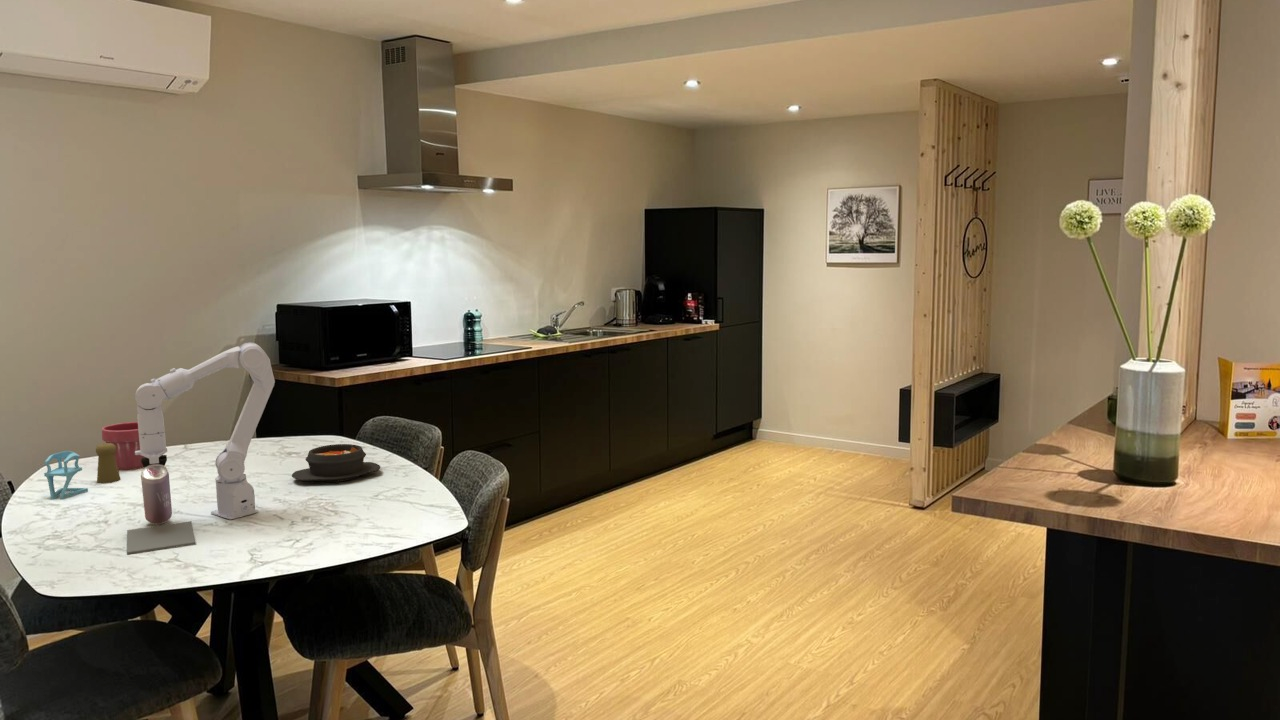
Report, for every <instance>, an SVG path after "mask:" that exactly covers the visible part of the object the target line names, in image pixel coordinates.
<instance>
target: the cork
mask: <svg viewBox="0 0 1280 720" xmlns="http://www.w3.org/2000/svg"><path fill="white" fill-rule="evenodd" d="M95 453H96V455H97V456H98V459H97V460H98V461H97V463H98V464H97V475H96V478H97V479H96V483H97V484H112V483H116V482H119V481H121V476H120V471H119V469H118V467H117V463H116V459H115V453H116V446H115V445H114V444H112V443H106V442H105V443H101V444H98V445H97V446H96V447H95Z"/></svg>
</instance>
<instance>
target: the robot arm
mask: <svg viewBox="0 0 1280 720" xmlns="http://www.w3.org/2000/svg"><path fill="white" fill-rule="evenodd" d="M240 365H241V366H242V367H243V368H244V370H245V371H247V372H248V374H249V376H250V378H251V380H252V381H253V384H252V386H251V388H250V390H249V393H248V395H247V398H246V401H245V402H244V404H243V407H242V409H241V412H240V415H239V417H238V418H237V419H238V420H237V421H236V424H235V426H234V429H233V432H232V434H231V435H230V438H229V440H228V441H227V443H226V445H225V447H224V449H223V450H222V451H221V452H220V453H219V454H218V455H217V456H216V458H215V467H216V468H217V474H218V475H217V476H216V478H215V490H216V491H215V492H216V503H217V509H216V510H212V511H210V514H211V515H215V516H218V517H221V518H225V519H227V520H234V519H239V518H242V517H245V516H249V515H254V514H256V513H259V512H260V510H259V509H257V508H256V499H255V489H254V487H253V486H252V484H251V483H249V482H248V480H247V475H246V473H245V469H246V467H245V462H246V461H245V460H246V458H247V456H248V450H249V446H250V444H251V441H252V439H253V437H254V434H255V432H256V429H257V427H258V426H259V425H258V424H259V422H260V420H261V418H262V415H263V413H264V411H265V408H266V405H267V403H268V400H269V398H270V396H271V394H272V391H273V388H274V387H275V383H276V380H275V376H274V373H273V368H272V364H271V359H270V357H269V356H268V355H267V353H266V351H265V350H264V349H263V348H262V347H261V346H260V345H259V344H257V343H256V342H251V341H250V342H245V343H242V344H241V345H240V346H239V345H238V346H235V347H232V348H229V349H227V350H224V351H222V352H220V353H219V354H217V355H214V356H213V357H210V358H209V359H207V360H204V361H203V362H201V363H199V364H197V365H196V366H193V367H191V368H190V369H185V368H182V367H179V368H177V369H176V368H175V367H173V368H170V370H169V373H166V374H164V375H162V376H160V377H158V378H152V379H150V382H149V383H148V382H146V383H143V384H141V385H140V386H139V387H138V388H137V389H136V391H135V395H134V396H135V397H134V400H135V402H136V404H137V407H136V412H137V415H136V416H137V422H138V431H139V443H140V450H139V451H135V455H142V456H144V457H147V458H142V459H141V463H142V465H143V466H144V467H143V469H144V468H145V467H147V466H149V465H153V464H160V465H163V466H165V467H166V463H167V461H168V457H167V454H166V453H167V452H168V448H167V442H166V433H165V432H166V429H165V420H164V417H165V416H164V412H163V411H162V410H163V409H162V403H163V401H168V400H171V399H173V398H174V397H176V396H179V395H182V394H183V393H185V392H187V391H189V390H191V389H193V387H194V385H195V382H196V381H199V380H200V379H203V378H206V377H207V376H209V375H213V374H214V373H217V372H218V371H221V370H224V369H227V368H229V369H240Z"/></svg>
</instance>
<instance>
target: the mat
mask: <svg viewBox="0 0 1280 720" xmlns="http://www.w3.org/2000/svg"><path fill="white" fill-rule="evenodd" d="M196 544H197V543H196V536H195V532H194V528H193V523H192V520H191V521H184V522H176V523H170V524H169V523H168V524H162V525H161V524H159V525H154V526H146V527H140V528H133V529H127V530H126V555H133V554H140V553H147V552H152V551H153V552H155V551H159V550H166V549H172V548H173V549H174V548H179V547H185V546H186V547H187V546H192V545H194V546H195V545H196Z"/></svg>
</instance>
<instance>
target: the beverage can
mask: <svg viewBox="0 0 1280 720" xmlns="http://www.w3.org/2000/svg"><path fill="white" fill-rule="evenodd" d="M140 478H141V481H140V482H141V489H142V499H143V509H144V517H145V520H146V521H147V522H148V523H150V524H151V525H161V524H162V525H163V524H164V523H165V524H166V522H168V521H169V520H170V519H171V518H172V515H173V509H172V506H173V505H172V496H171V485H170V484H171V483H170V472H169V471H168V468H167V467H166V465H165V466H163V465H160V464H153V465H149V466H147V467H145V468H144V467H143V468H142V470H141V474H140Z"/></svg>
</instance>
